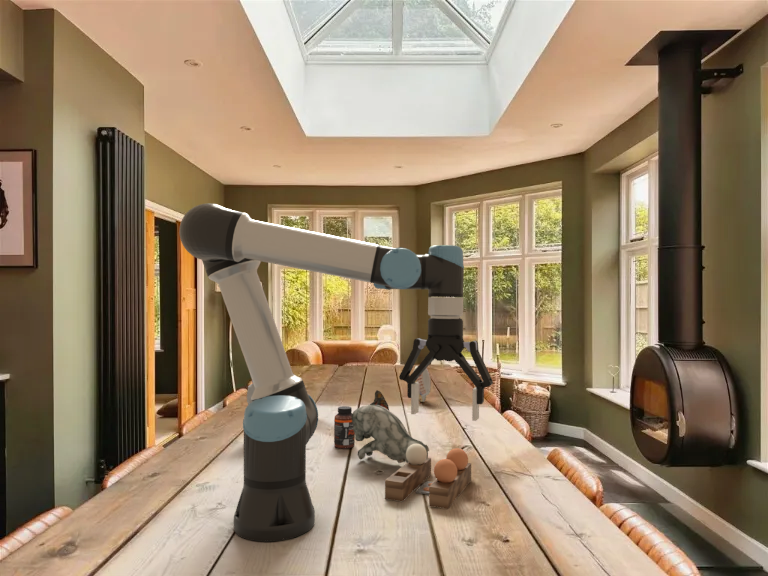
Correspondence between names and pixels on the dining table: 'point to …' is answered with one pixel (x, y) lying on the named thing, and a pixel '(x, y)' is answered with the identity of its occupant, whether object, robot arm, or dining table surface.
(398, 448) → the figurine
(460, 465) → the rust ball
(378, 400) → the butterfly
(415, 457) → the cream ball
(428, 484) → the card
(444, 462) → the rust ball
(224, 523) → the dining table surface
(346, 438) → the supplement bottle
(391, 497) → the rack
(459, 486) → the rack
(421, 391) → the white patterned rounded slab
